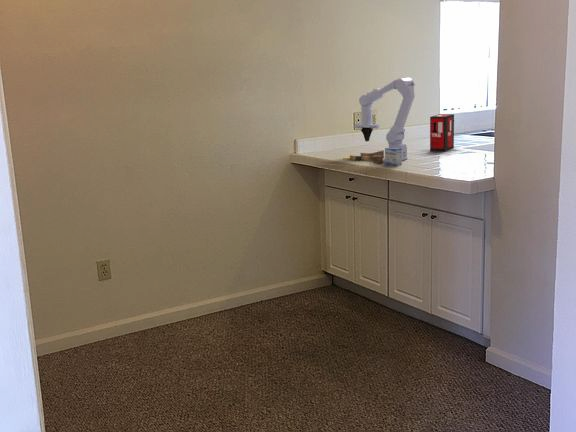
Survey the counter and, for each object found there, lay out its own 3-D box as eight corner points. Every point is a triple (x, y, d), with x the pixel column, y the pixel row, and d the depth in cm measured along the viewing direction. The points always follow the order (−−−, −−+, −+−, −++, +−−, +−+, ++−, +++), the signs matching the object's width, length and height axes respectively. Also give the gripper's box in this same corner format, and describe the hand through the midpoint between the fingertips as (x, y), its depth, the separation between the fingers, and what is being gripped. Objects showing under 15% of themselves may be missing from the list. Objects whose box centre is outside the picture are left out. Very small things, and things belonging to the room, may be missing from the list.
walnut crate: (382, 163, 341) (382, 155, 340) (380, 164, 338) (380, 156, 337) (375, 162, 343) (375, 155, 342) (373, 164, 339) (373, 156, 338)
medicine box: (384, 164, 335) (384, 148, 333) (389, 163, 338) (389, 147, 336) (397, 165, 329) (396, 149, 327) (402, 164, 332) (401, 148, 330)
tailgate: (362, 155, 360) (352, 155, 364) (352, 158, 353) (342, 157, 357) (362, 158, 360) (352, 157, 364) (352, 160, 353) (342, 159, 357)
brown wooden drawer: (384, 159, 353) (384, 150, 352) (371, 162, 343) (371, 153, 342) (362, 157, 362) (362, 149, 361) (348, 161, 352) (348, 152, 351)
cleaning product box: (439, 147, 388) (439, 114, 384) (453, 147, 384) (454, 114, 379) (430, 151, 375) (430, 116, 370) (444, 151, 370) (445, 116, 366)
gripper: (381, 116, 355) (382, 140, 358) (359, 116, 364) (360, 139, 367) (374, 117, 349) (375, 142, 353) (352, 117, 358) (353, 141, 362)
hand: (367, 141), depth 359 cm, fingers closed
